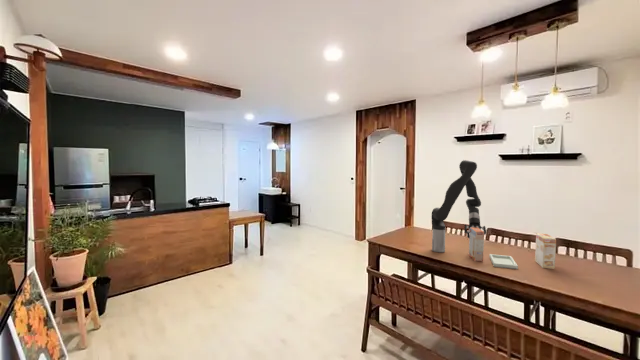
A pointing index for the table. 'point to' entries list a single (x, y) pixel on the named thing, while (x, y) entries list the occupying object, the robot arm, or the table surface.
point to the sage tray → (503, 261)
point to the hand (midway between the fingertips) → (475, 238)
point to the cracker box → (476, 244)
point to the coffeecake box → (545, 250)
